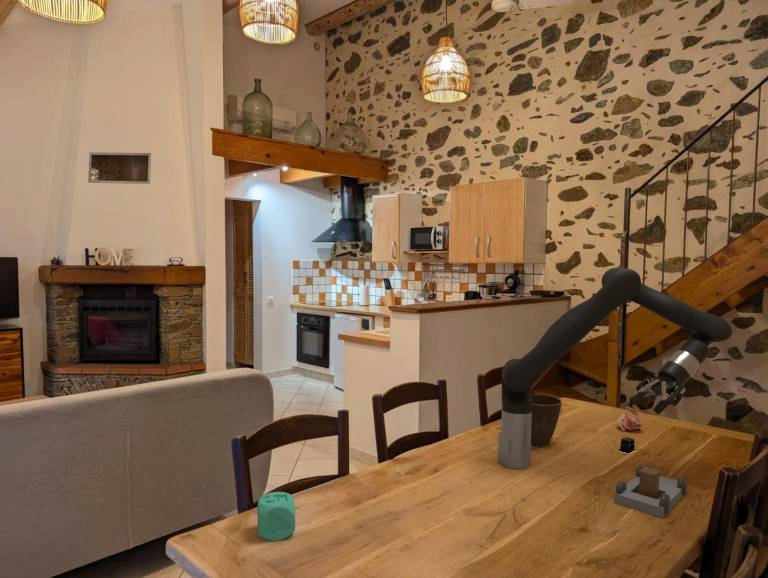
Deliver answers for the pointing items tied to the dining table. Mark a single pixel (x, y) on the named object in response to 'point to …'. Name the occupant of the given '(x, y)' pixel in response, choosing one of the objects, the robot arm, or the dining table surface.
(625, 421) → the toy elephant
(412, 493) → the dining table surface
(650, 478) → the wooden block
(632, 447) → the black block
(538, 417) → the plant pot
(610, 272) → the robot arm
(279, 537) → the decorative dice
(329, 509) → the dining table surface
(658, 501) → the chassis
